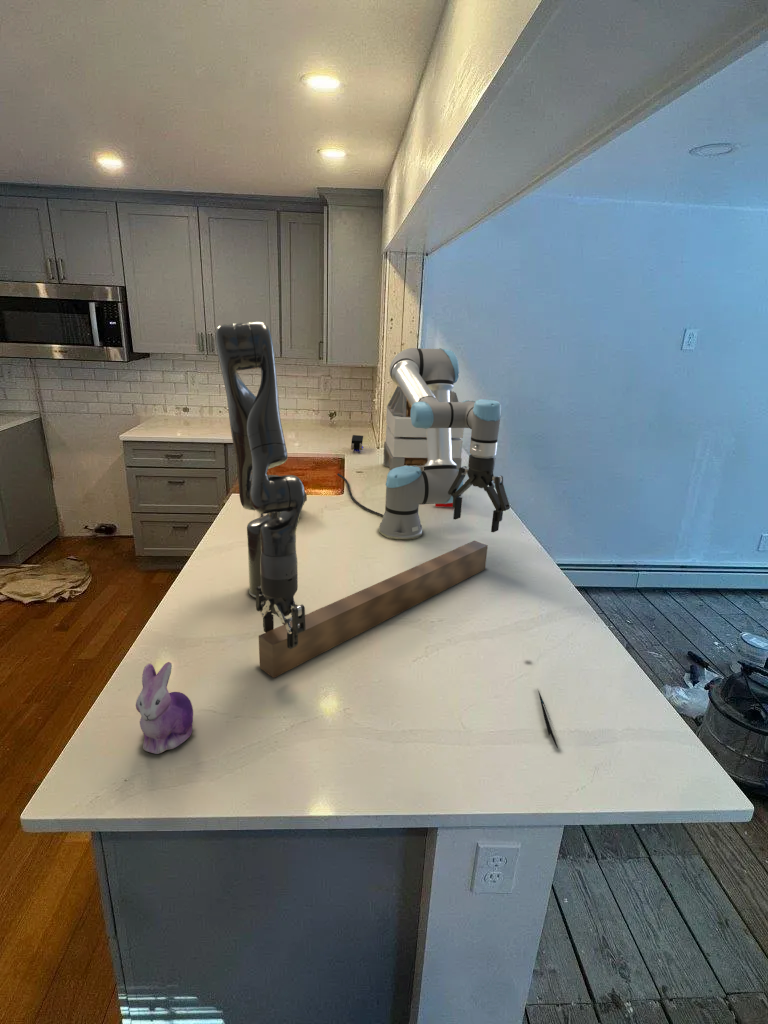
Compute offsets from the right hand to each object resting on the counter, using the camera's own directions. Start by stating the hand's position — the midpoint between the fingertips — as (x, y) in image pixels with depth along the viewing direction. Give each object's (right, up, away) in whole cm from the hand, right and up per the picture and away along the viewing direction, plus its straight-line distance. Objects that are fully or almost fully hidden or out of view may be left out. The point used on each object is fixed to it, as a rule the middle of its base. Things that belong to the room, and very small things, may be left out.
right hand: (475, 524), depth 169 cm
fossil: (-62, +2, +42) cm, 75 cm away
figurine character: (-42, +37, +143) cm, 154 cm away
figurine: (-66, -37, -67) cm, 101 cm away
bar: (-25, -22, -20) cm, 39 cm away
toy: (-3, +10, +73) cm, 73 cm away
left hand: (-50, -23, -47) cm, 72 cm away
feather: (+5, -35, -53) cm, 64 cm away
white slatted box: (-10, +23, +106) cm, 109 cm away
